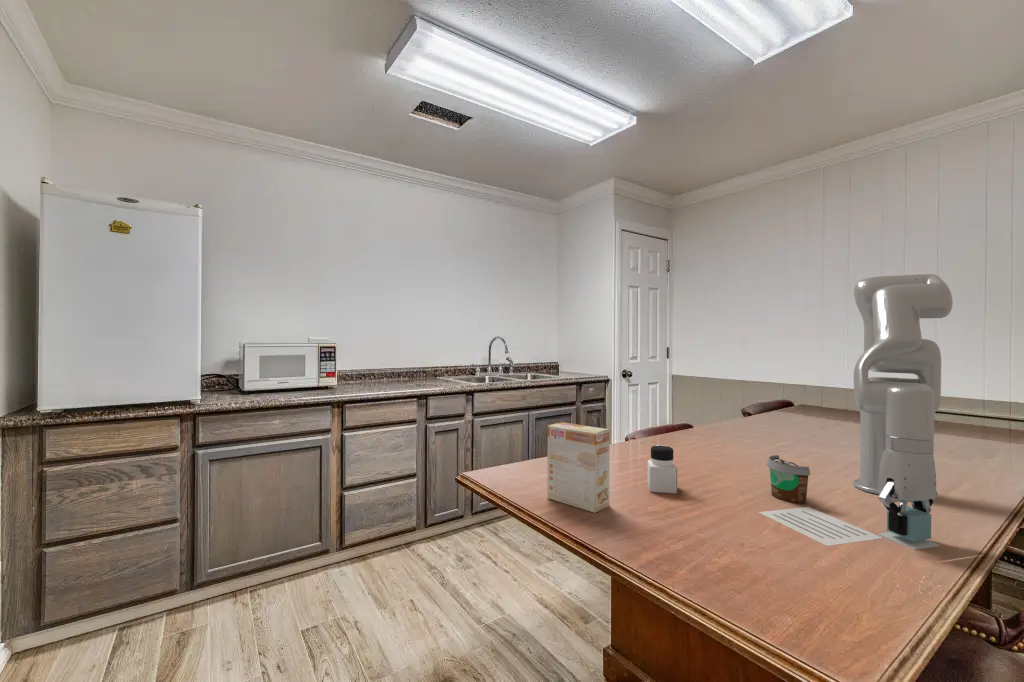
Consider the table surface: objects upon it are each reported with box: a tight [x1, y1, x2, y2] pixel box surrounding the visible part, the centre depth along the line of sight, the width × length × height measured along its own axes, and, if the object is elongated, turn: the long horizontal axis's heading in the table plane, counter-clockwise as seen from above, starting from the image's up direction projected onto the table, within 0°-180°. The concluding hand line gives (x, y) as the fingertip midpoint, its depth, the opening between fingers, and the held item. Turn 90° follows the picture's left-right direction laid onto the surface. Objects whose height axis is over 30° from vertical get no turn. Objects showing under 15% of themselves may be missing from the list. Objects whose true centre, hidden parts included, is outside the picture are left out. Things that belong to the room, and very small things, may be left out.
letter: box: [758, 506, 883, 547], centre depth 102 cm, size 15×18×1 cm
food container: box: [766, 454, 811, 505], centre depth 119 cm, size 12×6×10 cm, turn 5°
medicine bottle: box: [647, 444, 678, 495], centre depth 126 cm, size 7×7×12 cm
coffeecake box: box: [546, 422, 611, 514], centre depth 115 cm, size 15×7×20 cm, turn 47°
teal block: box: [886, 505, 932, 541], centre depth 94 cm, size 5×5×5 cm
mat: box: [877, 531, 941, 551], centre depth 94 cm, size 7×7×1 cm
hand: (908, 530), depth 94 cm, fingers open, 5 cm apart
